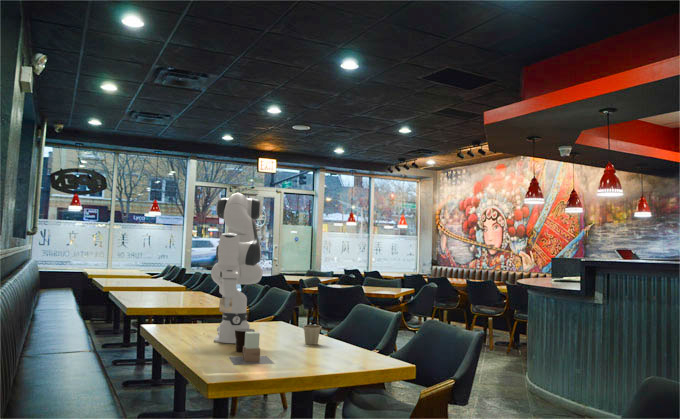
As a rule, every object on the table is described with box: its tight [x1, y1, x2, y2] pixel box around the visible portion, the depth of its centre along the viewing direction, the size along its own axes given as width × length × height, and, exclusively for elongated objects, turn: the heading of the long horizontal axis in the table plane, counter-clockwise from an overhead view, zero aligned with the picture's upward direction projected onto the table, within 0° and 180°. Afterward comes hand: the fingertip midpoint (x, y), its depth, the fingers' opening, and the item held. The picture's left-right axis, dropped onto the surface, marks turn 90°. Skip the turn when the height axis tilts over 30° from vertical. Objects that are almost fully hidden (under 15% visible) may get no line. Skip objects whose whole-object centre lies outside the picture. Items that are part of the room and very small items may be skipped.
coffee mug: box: [235, 328, 256, 354], centre depth 234 cm, size 12×9×10 cm
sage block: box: [244, 331, 260, 349], centre depth 214 cm, size 5×5×6 cm
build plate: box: [228, 355, 275, 366], centre depth 213 cm, size 16×16×1 cm
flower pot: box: [302, 324, 322, 346], centre depth 262 cm, size 9×9×9 cm
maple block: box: [218, 297, 232, 313], centre depth 214 cm, size 4×4×5 cm
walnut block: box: [242, 346, 261, 362], centre depth 213 cm, size 6×6×5 cm
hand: (225, 307), depth 213 cm, fingers closed on maple block, 4 cm apart
